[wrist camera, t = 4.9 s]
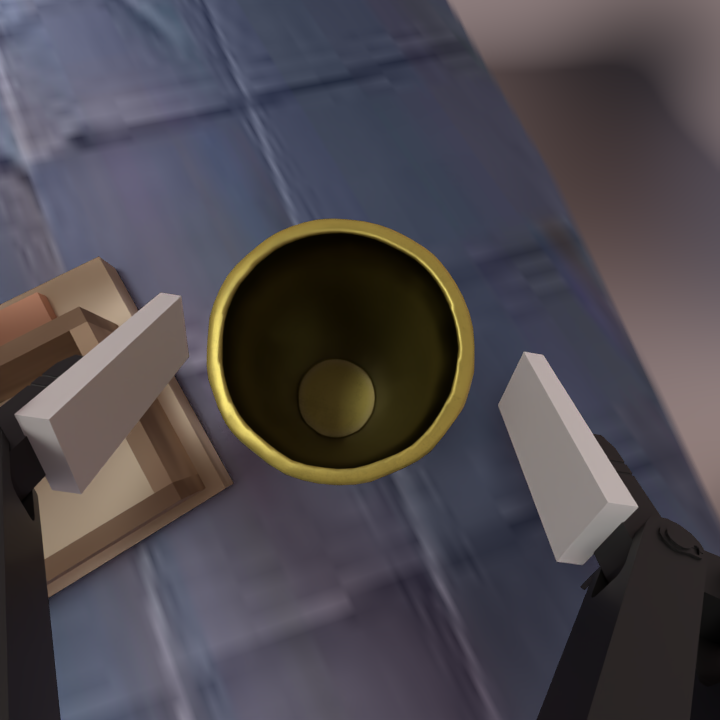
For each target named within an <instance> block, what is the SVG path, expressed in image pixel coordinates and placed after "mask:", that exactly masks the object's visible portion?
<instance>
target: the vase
mask: <svg viewBox="0 0 720 720" xmlns="http://www.w3.org/2000/svg"><path fill="white" fill-rule="evenodd" d="M207 372H208V380H209V382H210V385H211V388H212V391H213V394H214V397H215V400H216V403H217V406H218V409H219V411H220V413H221V415H222V417H223V419H224V421H225V423H226V424H227V426H228V427H229V429H230V430H231V432H232V433H233V434H234V435H235V436H236V437H237V438H238V439H239V440H240V441H241V442H242V443H243V444H244V445H245V446H247V447H248V448H249V449H250V450H252V451H253V452H254V453H255V454H257V455H258V456H259V457H260V458H262V459H263V460H264V461H265V462H267V463H268V464H269V465H271V466H273V467H274V468H276V469H277V470H279V471H281V472H282V473H284V474H286V475H289V476H292V477H294V478H297V479H300V480H304V481H309V482H313V483H318V484H329V485H356V484H362V483H367V482H372V481H374V480H376V479H379V478H382V477H384V476H387V475H389V474H391V473H394V472H396V471H398V470H400V469H403V468H405V467H407V466H409V465H411V464H413V463H415V462H417V461H418V460H420V459H421V458H422V457H424V456H425V455H426V454H428V453H429V452H430V451H431V450H432V449H433V448H434V447H435V445H436V444H437V443H438V442H439V441H440V440H441V438H442V437H443V436H444V435H445V433H446V432H447V430H448V429H449V428H450V426H451V425H452V423H453V422H454V421H455V419H456V418H457V416H458V415H459V414H460V412H461V411H462V409H463V407H464V405H465V402H466V399H467V396H468V393H469V390H470V386H471V382H472V378H473V374H474V335H473V326H472V322H471V318H470V314H469V311H468V308H467V306H466V303H465V300H464V298H463V296H462V294H461V292H460V290H459V288H458V286H457V285H456V283H455V281H454V280H453V278H452V277H451V275H450V274H449V272H448V271H447V270H446V269H445V267H444V266H443V265H442V263H441V262H440V261H439V260H438V259H437V258H436V257H435V256H434V255H433V254H432V253H431V252H429V251H428V250H427V249H426V248H424V247H423V246H421V245H420V244H418V243H416V242H415V241H413V240H411V239H410V238H408V237H406V236H404V235H403V234H400V233H398V232H396V231H394V230H392V229H389V228H386V227H383V226H381V225H377V224H373V223H369V222H364V221H357V220H347V219H319V220H313V221H309V222H304V223H301V224H298V225H295V226H292V227H289V228H287V229H285V230H282V231H280V232H278V233H276V234H274V235H272V236H271V237H269V238H267V239H266V240H265V241H264V242H262V243H261V244H260V245H258V246H257V247H256V248H255V249H254V250H252V251H251V252H250V253H249V254H247V255H246V256H245V257H244V258H243V259H242V260H241V261H240V262H239V263H238V264H237V265H236V266H235V267H234V268H233V270H232V271H231V272H230V273H229V274H228V276H227V277H226V279H225V281H224V283H223V284H222V286H221V288H220V290H219V292H218V295H217V297H216V299H215V302H214V304H213V308H212V311H211V314H210V318H209V329H208V341H207Z"/></svg>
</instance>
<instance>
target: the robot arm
mask: <svg viewBox="0 0 720 720" xmlns="http://www.w3.org/2000/svg"><path fill="white" fill-rule="evenodd" d="M188 357H189V353H188V345H187V337H186V329H185V321H184V314H183V306H182V298H181V296H178V295H172V294H166V293H159V294H158V295H157V296H156V297H155V298H153V299H152V300H151V301H150V302H149V303H147V304H146V305H145V306H144V307H143V308H141V309H140V310H139V311H138V312H137V313H135V314H134V315H133V316H132V317H131V318H129V319H128V320H127V321H126V322H125V323H123V324H122V325H121V326H120V327H119V328H117V329H116V330H115V331H114V332H113V333H111V334H110V335H109V336H108V337H107V338H105V339H104V340H103V341H102V342H100V343H99V344H98V345H97V346H96V347H94V348H93V349H92V350H91V351H90V352H88V353H87V354H86V355H85V356H81V355H73V356H71V357H69V358H66V359H64V360H62V361H60V362H58V363H56V364H54V365H53V366H52V367H51V368H49V369H48V370H47V371H46V372H44V373H43V374H42V376H39V377H38V378H37V379H35V380H34V381H33V382H31V385H30V386H29V385H28V386H26V387H25V388H24V389H23V390H21V391H20V392H19V393H17V394H16V395H15V396H14V397H12V398H11V399H10V400H8V401H7V402H6V403H5V404H3V405H2V406H1V407H0V720H61V719H60V709H59V699H58V689H57V679H56V669H55V660H54V650H53V640H52V630H51V620H50V610H49V600H48V590H47V580H46V570H45V560H44V550H43V541H42V531H41V521H40V511H39V501H38V495H37V493H36V491H35V489H34V487H35V486H36V485H37V484H38V483H39V482H40V481H41V480H42V479H43V478H44V477H46V479H47V481H48V483H49V485H50V487H51V489H52V490H55V491H62V492H69V493H76V494H82V493H83V491H84V490H85V489H86V488H87V486H88V485H89V484H90V483H91V481H92V480H93V479H94V477H95V476H96V475H97V474H98V472H99V471H100V470H101V468H102V467H103V466H104V465H105V463H106V462H107V461H108V460H109V458H110V457H111V456H112V454H113V453H114V452H115V451H116V449H117V448H118V447H119V445H120V444H121V443H122V442H123V440H124V439H125V438H126V437H127V435H128V434H129V433H130V431H131V430H132V429H133V428H134V426H135V425H136V424H137V422H138V421H139V420H140V419H141V417H142V416H143V415H144V413H145V412H146V411H147V410H148V408H149V407H150V406H151V405H152V403H153V402H154V401H155V399H156V398H157V397H158V396H159V394H160V393H161V392H162V390H163V389H164V388H165V387H166V385H167V384H168V383H169V382H170V380H171V379H172V378H173V376H174V375H175V374H176V373H177V371H178V370H179V369H180V367H181V366H182V365H183V364H184V362H185V361H186V360H187V359H188ZM498 406H499V409H500V412H501V414H502V417H503V420H504V422H505V425H506V428H507V430H508V433H509V436H510V438H511V441H512V444H513V446H514V449H515V452H516V454H517V457H518V460H519V462H520V465H521V468H522V470H523V473H524V476H525V478H526V481H527V484H528V486H529V489H530V492H531V494H532V497H533V500H534V502H535V505H536V508H537V511H538V513H539V516H540V519H541V521H542V524H543V527H544V529H545V532H546V535H547V537H548V540H549V543H550V545H551V548H552V551H553V553H554V556H555V559H556V561H557V562H564V563H571V564H578V565H583V564H584V563H585V562H586V561H587V560H588V559H589V558H590V557H591V556H592V555H593V554H595V556H596V559H597V561H598V563H599V565H600V567H599V568H598V569H597V570H596V571H595V572H594V573H593V574H592V575H591V576H590V577H589V578H588V579H587V580H586V581H585V582H584V583H583V584H582V586H581V588H582V589H584V590H585V589H586V588H587V587H588V586H589V587H588V590H587V592H586V595H585V598H584V600H583V603H582V605H581V608H580V610H579V613H578V615H577V618H576V621H575V623H574V626H573V628H572V631H571V633H570V636H569V638H568V641H567V644H566V646H565V649H564V651H563V654H562V656H561V659H560V661H559V664H558V667H557V669H556V672H555V674H554V677H553V679H552V682H551V684H550V687H549V690H548V692H547V695H546V697H545V700H544V702H543V705H542V707H541V710H540V713H539V715H538V718H537V720H720V557H719V556H717V555H714V554H712V553H709V552H707V551H704V549H703V547H702V546H701V544H700V543H699V542H698V541H697V539H696V538H695V537H694V536H693V535H692V534H691V533H690V532H688V531H687V530H686V529H684V528H683V527H681V526H680V525H679V524H677V523H675V522H673V521H671V520H669V519H666V518H662V517H661V516H660V515H659V513H658V512H657V510H656V509H655V507H654V506H653V504H652V503H651V501H650V500H649V498H648V497H647V495H646V494H645V492H644V491H643V489H642V488H641V486H640V485H639V483H638V482H637V480H636V479H635V477H634V476H632V473H631V471H630V470H629V468H628V467H627V465H625V464H624V461H623V459H622V458H621V456H620V455H619V453H618V452H617V450H616V449H615V448H614V447H613V446H612V445H611V444H610V443H609V442H608V441H607V440H606V439H605V438H604V437H602V436H601V435H596V434H592V432H591V430H590V429H589V427H588V426H587V424H586V423H585V421H584V419H583V418H582V416H581V415H580V413H579V411H578V410H577V408H576V407H575V405H574V403H573V402H572V400H571V399H570V397H569V395H568V394H567V392H566V391H565V389H564V388H563V386H562V384H561V383H560V381H559V380H558V378H557V376H556V375H555V373H554V372H553V370H552V368H551V367H550V365H549V364H548V362H547V360H546V359H545V357H544V356H543V355H540V354H534V353H528V352H523V355H522V357H521V359H520V361H519V363H518V365H517V367H516V369H515V371H514V373H513V375H512V377H511V379H510V382H509V384H508V386H507V388H506V390H505V392H504V394H503V396H502V398H501V400H500V402H499V404H498Z"/></svg>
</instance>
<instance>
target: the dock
mask: <svg viewBox="0 0 720 720" xmlns="http://www.w3.org/2000/svg"><path fill="white" fill-rule="evenodd" d="M137 312H138V309H137V307H136V306H135V304H134V302H133V300H132V298H131V296H130V295H129V293H128V291H127V289H126V287H125V286H124V284H123V282H122V280H121V278H120V276H119V275H118V273H117V271H116V269H115V268H114V267H113V266H111V265H110V264H108V263H107V262H106V261H104V260H103V259H102V258H100V257H97V258H95V259H93V260H91V261H89V262H87V263H84V264H82V265H80V266H78V267H76V268H74V269H72V270H70V271H68V272H66V273H64V274H62V275H60V276H58V277H56V278H54V279H52V280H50V281H48V282H46V283H44V284H42V285H39V286H37V287H35V288H33V289H31V290H29V291H27V292H25V293H23V294H21V295H19V296H17V297H15V298H13V299H11V300H9V301H7V302H5V303H3V304H1V305H0V407H1V406H2V405H3V404H5V403H6V402H7V401H8V400H10V399H11V398H12V397H14V396H15V395H16V394H17V393H19V392H20V391H21V390H23V389H24V388H25V387H26V386H28V385H29V386H30V385H31V382H33V381H34V380H35V379H37V378H38V377H39V376H42V374H43V373H44V372H46V371H47V370H48V369H49V368H51V367H52V366H53V365H54V364H56V363H58V362H60V361H62V360H64V359H66V358H69V357H71V356H73V355H81V356H85V355H86V354H87V353H88V352H90V351H91V350H92V349H93V348H94V347H96V346H97V345H98V344H99V343H100V342H102V341H103V340H104V339H105V338H107V337H108V336H109V335H110V334H111V333H113V332H114V331H115V330H116V329H117V328H119V327H120V326H121V325H122V324H123V323H125V322H126V321H127V320H128V319H129V318H131V317H132V316H133V315H134V314H135V313H137ZM232 484H234V483H233V482H232V480H231V478H230V476H229V474H228V472H227V471H226V469H225V467H224V465H223V463H222V462H221V460H220V458H219V456H218V454H217V453H216V451H215V449H214V447H213V445H212V443H211V442H210V440H209V438H208V436H207V434H206V433H205V431H204V429H203V427H202V425H201V423H200V422H199V420H198V418H197V416H196V414H195V413H194V411H193V409H192V407H191V405H190V404H189V402H188V400H187V398H186V396H185V394H184V393H183V391H182V389H181V387H180V385H179V384H178V382H177V380H176V378H175V376H173V378H172V379H171V380H170V382H169V383H168V384H167V385H166V387H165V388H164V389H163V390H162V392H161V393H160V394H159V396H158V397H157V398H156V399H155V401H154V402H153V403H152V405H151V406H150V407H149V408H148V410H147V411H146V412H145V413H144V415H143V416H142V417H141V419H140V420H139V421H138V422H137V424H136V425H135V426H134V428H133V429H132V430H131V431H130V433H129V434H128V435H127V437H126V438H125V439H124V440H123V442H122V443H121V444H120V445H119V447H118V448H117V449H116V451H115V452H114V453H113V454H112V456H111V457H110V458H109V460H108V461H107V462H106V463H105V465H104V466H103V467H102V468H101V470H100V471H99V472H98V474H97V475H96V476H95V477H94V479H93V480H92V481H91V483H90V484H89V485H88V486H87V488H86V489H85V490H84V491H83V493H82V494H76V493H69V492H62V491H55V490H52V489H51V487H50V485H49V483H48V481H47V479H46V477H44V478H43V479H42V480H41V481H40V482H39V483H38V484H37V485H36V486H35V487H34V489H35V491H36V493H37V495H38V501H39V511H40V521H41V531H42V541H43V550H44V560H45V570H46V580H47V590H48V598H49V597H51V596H53V595H54V594H56V593H57V592H59V591H61V590H62V589H64V588H65V587H67V586H69V585H70V584H72V583H74V582H75V581H77V580H78V579H80V578H82V577H83V576H85V575H86V574H88V573H90V572H91V571H93V570H95V569H96V568H98V567H99V566H101V565H103V564H104V563H106V562H107V561H109V560H111V559H112V558H114V557H116V556H117V555H119V554H120V553H122V552H124V551H125V550H127V549H129V548H130V547H132V546H133V545H135V544H137V543H138V542H140V541H141V540H143V539H145V538H146V537H148V536H150V535H151V534H153V533H154V532H156V531H158V530H159V529H161V528H162V527H164V526H166V525H167V524H169V523H171V522H172V521H174V520H175V519H177V518H179V517H180V516H182V515H183V514H185V513H187V512H188V511H190V510H192V509H193V508H195V507H196V506H198V505H200V504H201V503H203V502H204V501H206V500H208V499H209V498H211V497H213V496H214V495H216V494H217V493H219V492H221V491H222V490H224V489H225V488H227V487H229V486H230V485H232Z"/></svg>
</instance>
